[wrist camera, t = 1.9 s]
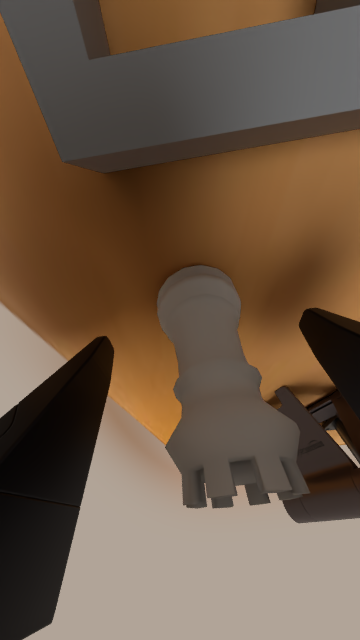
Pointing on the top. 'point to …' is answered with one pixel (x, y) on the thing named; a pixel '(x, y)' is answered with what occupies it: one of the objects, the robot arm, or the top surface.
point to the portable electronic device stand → (323, 460)
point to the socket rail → (186, 84)
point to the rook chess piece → (222, 399)
